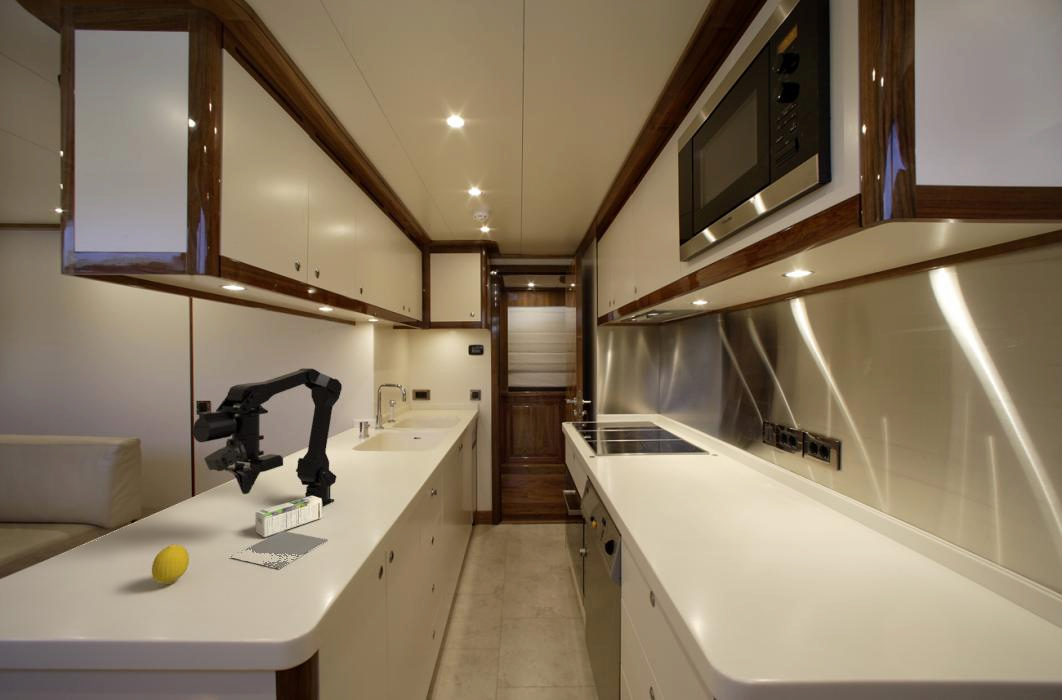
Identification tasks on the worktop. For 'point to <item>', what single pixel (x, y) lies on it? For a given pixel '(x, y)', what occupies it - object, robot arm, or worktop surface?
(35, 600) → the worktop surface
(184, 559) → the lemon
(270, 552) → the mat
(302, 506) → the syrup box
